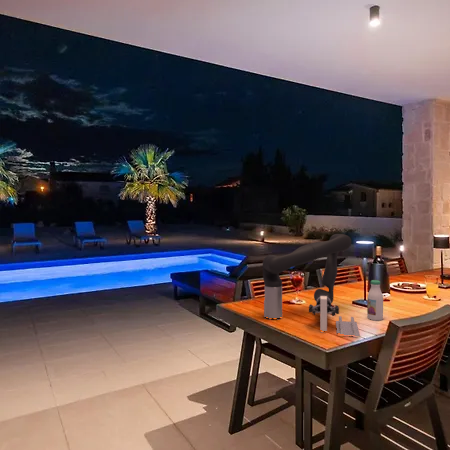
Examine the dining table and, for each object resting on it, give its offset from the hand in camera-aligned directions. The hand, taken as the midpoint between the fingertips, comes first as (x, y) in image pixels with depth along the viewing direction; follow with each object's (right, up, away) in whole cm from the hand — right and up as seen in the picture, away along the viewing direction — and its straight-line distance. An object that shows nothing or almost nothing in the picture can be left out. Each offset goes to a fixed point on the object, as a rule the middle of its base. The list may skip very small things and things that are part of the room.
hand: (323, 313), depth 189 cm
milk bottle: (+32, -7, +19) cm, 38 cm away
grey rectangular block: (+1, -9, +2) cm, 9 cm away
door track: (+12, -8, +3) cm, 15 cm away
